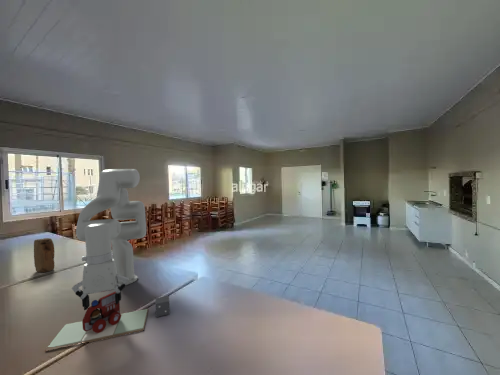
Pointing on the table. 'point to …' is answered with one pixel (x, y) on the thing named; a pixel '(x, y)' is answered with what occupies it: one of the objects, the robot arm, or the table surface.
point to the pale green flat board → (76, 334)
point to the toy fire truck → (102, 314)
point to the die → (162, 306)
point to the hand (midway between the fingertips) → (102, 305)
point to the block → (44, 255)
